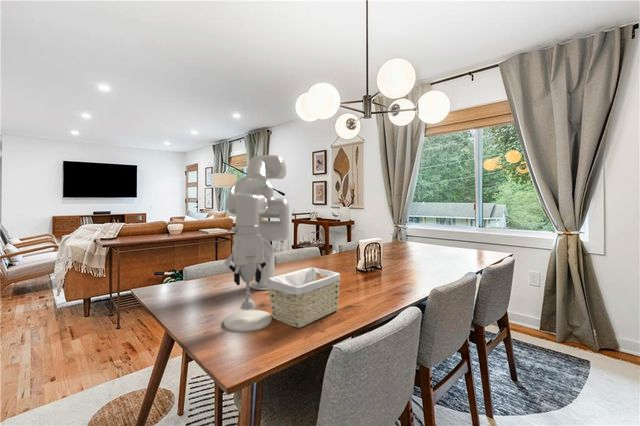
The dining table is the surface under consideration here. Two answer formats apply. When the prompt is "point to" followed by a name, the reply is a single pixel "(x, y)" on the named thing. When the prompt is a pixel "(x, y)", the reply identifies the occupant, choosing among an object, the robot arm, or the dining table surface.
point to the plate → (247, 320)
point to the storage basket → (303, 296)
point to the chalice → (247, 275)
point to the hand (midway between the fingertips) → (247, 282)
